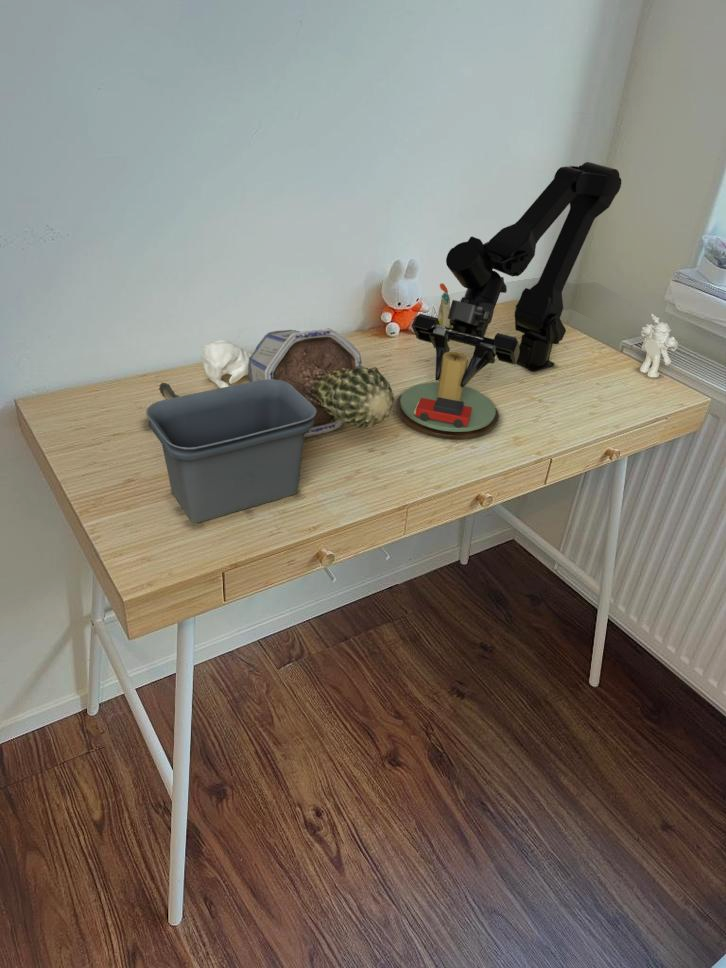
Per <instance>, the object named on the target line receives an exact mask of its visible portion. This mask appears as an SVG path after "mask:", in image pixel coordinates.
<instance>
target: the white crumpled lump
mask: <svg viewBox="0 0 726 968" xmlns="http://www.w3.org/2000/svg"><path fill="white" fill-rule="evenodd" d="M252 354H253V353H250V352H249V351H246V349H244V348H242V347H241V346H240V345H238V344H236V343H233V342H232V341H230V340H227V339H215V340H214V341H211V342H208V343H206V344H205V345H204V346H203V349H202V352H201V355H200V358H201V361H202V366H203V370H204V372H205V374H206V377H207V378H208V379H209V380H210V381H211V382H213V383H214V384H215V385H217V387H218V389H219V388H223V387H228V386H230V385H229V384H228V383H227V382H226V381H225V380H222V377H223V376H224V375H226V374H227V375H231V376H230V378H229V379H228V382H229V383H230V384H232V385H233V384H234V383H236V382H238V381H239V380H241V379H242V378H244V377H245V376H249V375H248V362H249V358H250V357H251V355H252Z"/></svg>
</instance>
